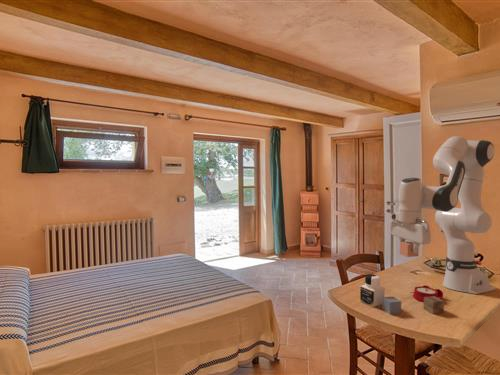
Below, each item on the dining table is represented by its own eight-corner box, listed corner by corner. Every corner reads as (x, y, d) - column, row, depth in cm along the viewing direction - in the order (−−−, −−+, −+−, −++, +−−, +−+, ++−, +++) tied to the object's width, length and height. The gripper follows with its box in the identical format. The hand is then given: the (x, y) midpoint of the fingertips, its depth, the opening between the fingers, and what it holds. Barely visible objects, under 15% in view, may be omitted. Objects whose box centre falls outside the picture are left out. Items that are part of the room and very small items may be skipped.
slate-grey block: (393, 308, 132) (393, 296, 132) (400, 313, 127) (401, 301, 127) (382, 309, 131) (382, 297, 131) (389, 314, 126) (389, 302, 126)
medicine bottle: (359, 301, 139) (360, 274, 138) (371, 298, 142) (371, 272, 142) (373, 307, 133) (373, 279, 132) (384, 304, 136) (385, 276, 136)
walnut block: (434, 308, 132) (434, 296, 132) (443, 313, 128) (443, 301, 127) (423, 309, 132) (423, 297, 131) (432, 314, 127) (433, 302, 126)
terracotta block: (410, 253, 135) (410, 241, 135) (418, 256, 130) (418, 244, 130) (399, 253, 134) (399, 242, 134) (407, 256, 129) (407, 244, 129)
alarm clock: (406, 290, 143) (424, 277, 151) (408, 302, 144) (425, 289, 152) (430, 297, 134) (447, 283, 142) (431, 311, 136) (448, 296, 143)
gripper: (435, 220, 122) (434, 256, 122) (400, 214, 142) (400, 244, 142) (421, 221, 120) (420, 257, 121) (387, 214, 141) (387, 245, 141)
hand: (409, 250), depth 132 cm, fingers closed on terracotta block, 5 cm apart
